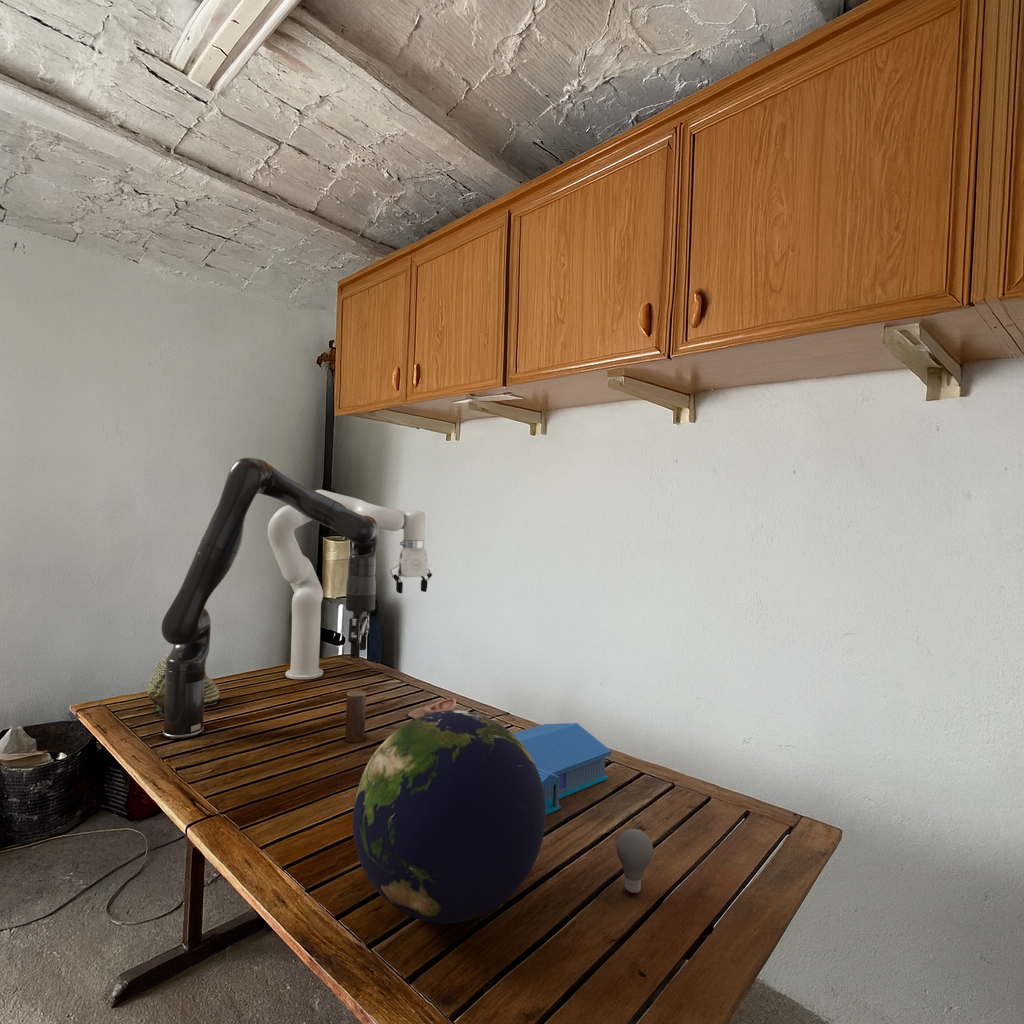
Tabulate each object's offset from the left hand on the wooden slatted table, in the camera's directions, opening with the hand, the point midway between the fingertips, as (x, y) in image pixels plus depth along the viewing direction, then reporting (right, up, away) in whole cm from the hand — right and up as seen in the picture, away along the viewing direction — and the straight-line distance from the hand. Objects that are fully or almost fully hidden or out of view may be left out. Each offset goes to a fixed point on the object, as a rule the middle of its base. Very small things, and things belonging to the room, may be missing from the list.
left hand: (358, 653), depth 166 cm
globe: (+30, -25, -66) cm, 77 cm away
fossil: (-56, -20, +19) cm, 62 cm away
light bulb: (+60, -26, -60) cm, 89 cm away
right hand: (+4, +8, +63) cm, 64 cm away
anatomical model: (+17, -23, +21) cm, 35 cm away
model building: (+42, -25, -24) cm, 55 cm away
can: (-1, -23, 0) cm, 23 cm away
